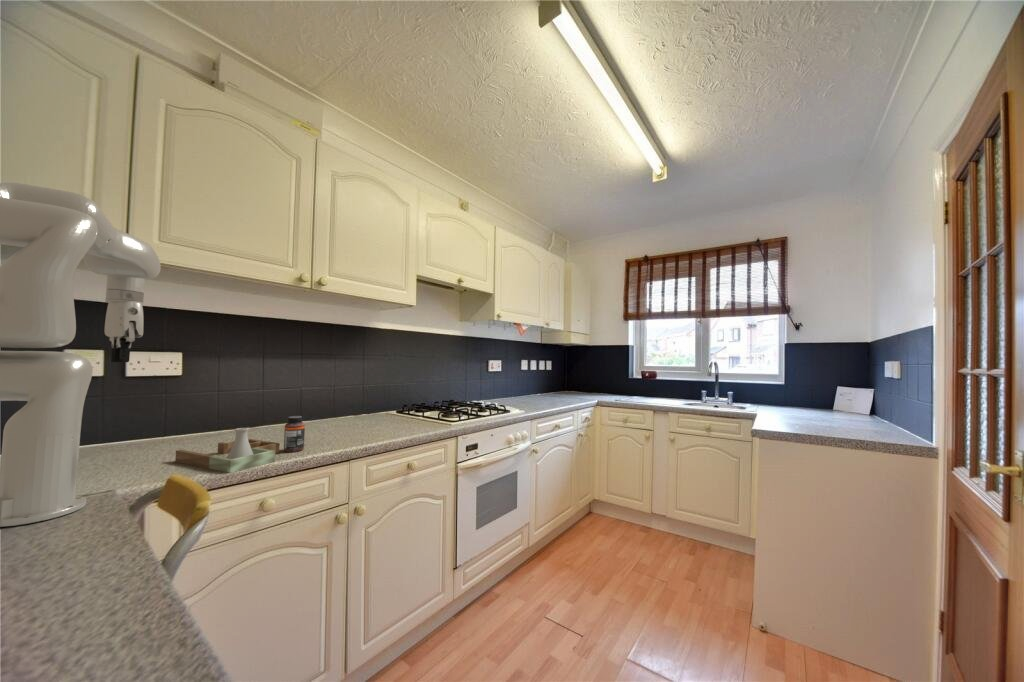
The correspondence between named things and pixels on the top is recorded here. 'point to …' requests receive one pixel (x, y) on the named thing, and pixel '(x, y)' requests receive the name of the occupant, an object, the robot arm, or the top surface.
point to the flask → (240, 445)
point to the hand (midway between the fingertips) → (120, 361)
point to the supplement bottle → (294, 434)
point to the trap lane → (260, 449)
